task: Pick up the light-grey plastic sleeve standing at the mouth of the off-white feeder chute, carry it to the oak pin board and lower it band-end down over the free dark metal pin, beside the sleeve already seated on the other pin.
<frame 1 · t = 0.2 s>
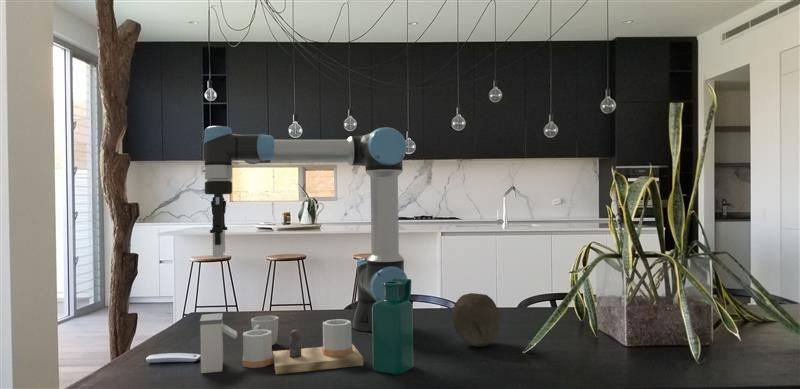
hand: (219, 254, 157), 28 cm above the table, fingers open, 13 cm apart
green square bottle: (394, 369, 138), on the table
cup: (263, 347, 161), on the table
feeder: (221, 366, 142), on the table
sleeve seated: (337, 352, 146), point 2 cm above the table, touching pin board
sleeve: (257, 363, 144), on the table
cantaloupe: (476, 346, 158), on the table
pin board: (316, 361, 145), on the table
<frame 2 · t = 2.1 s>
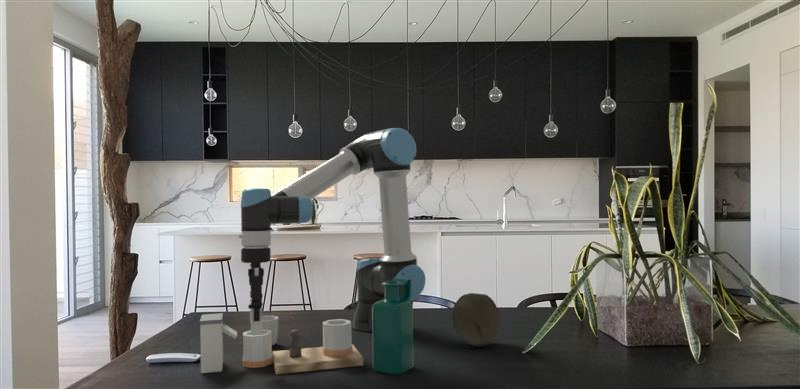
hand: (255, 328, 144), 9 cm above the table, fingers open, 13 cm apart
nothing on the table moved.
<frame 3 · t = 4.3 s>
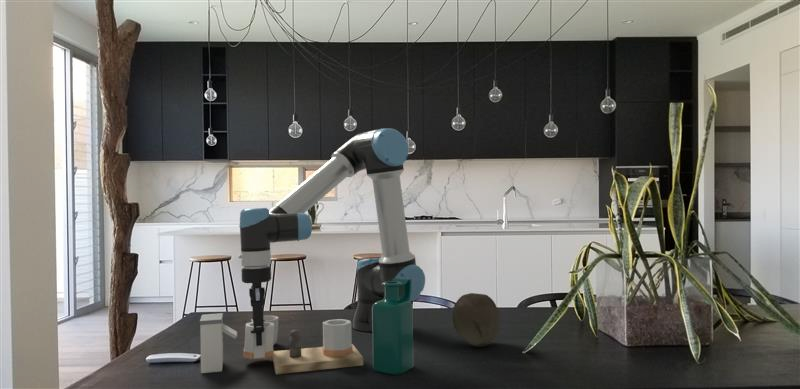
hand: (259, 353, 145), 3 cm above the table, fingers closed on sleeve, 8 cm apart
sleeve: (258, 354, 145), point 2 cm above the table, touching gripper
everything else where it was.
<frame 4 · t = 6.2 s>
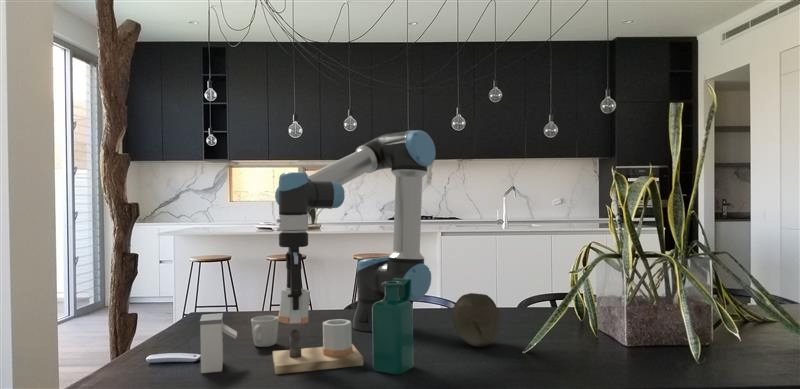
hand: (293, 319, 143), 12 cm above the table, fingers closed on sleeve, 8 cm apart
sleeve: (292, 321, 143), point 11 cm above the table, tilted 6°, touching gripper
everything else where it was.
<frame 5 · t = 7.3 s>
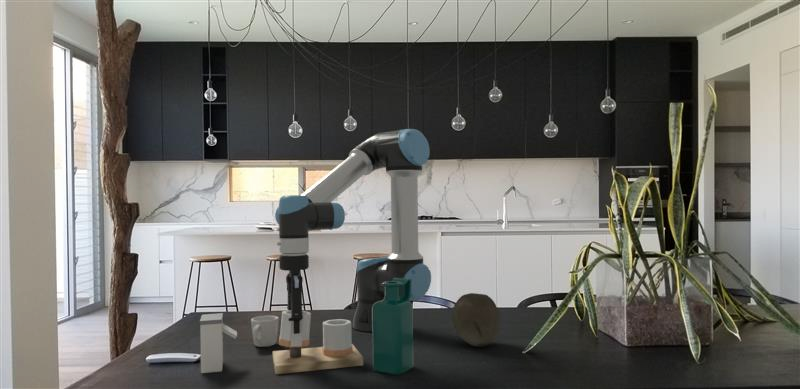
hand: (294, 341, 143), 6 cm above the table, fingers closed on sleeve, 8 cm apart
sleeve: (293, 343, 143), point 5 cm above the table, tilted 6°, touching gripper
everything else where it was.
when the fingers open (3 cm above the table, at t = 8.2 s): sleeve stays where it is, resting on pin board.
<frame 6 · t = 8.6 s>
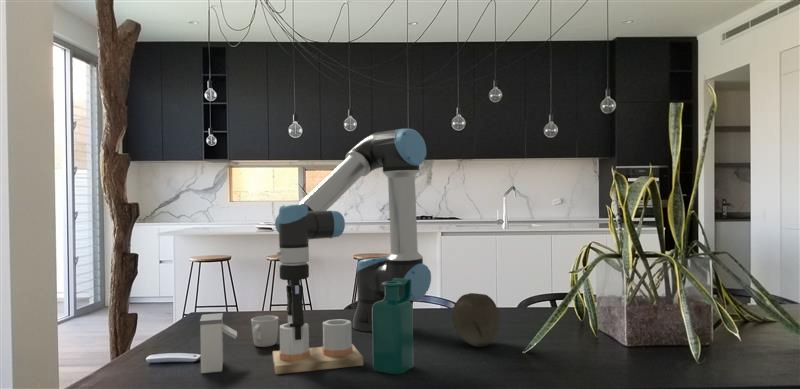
hand: (295, 345, 143), 5 cm above the table, fingers open, 13 cm apart
sleeve: (294, 356, 143), point 2 cm above the table, touching pin board
everything else where it was.
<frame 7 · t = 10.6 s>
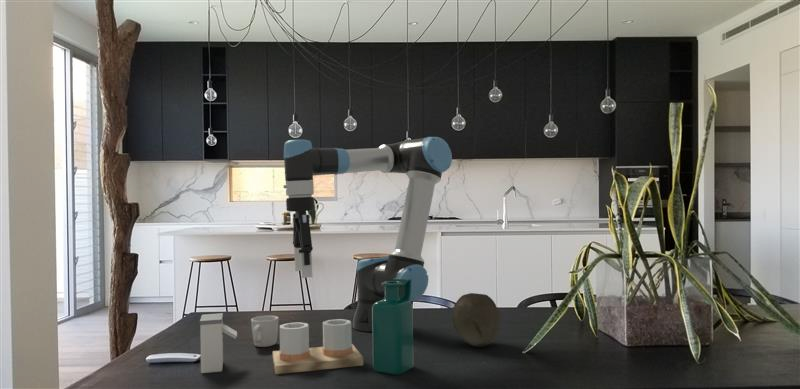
hand: (303, 273, 151), 22 cm above the table, fingers open, 13 cm apart
nothing on the table moved.
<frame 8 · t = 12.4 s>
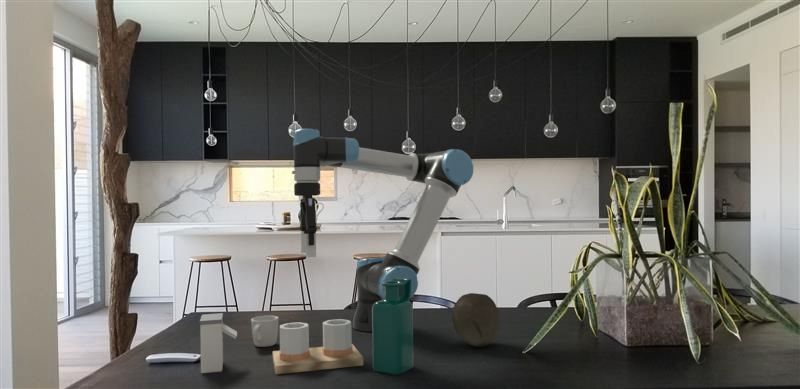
hand: (308, 255, 160), 27 cm above the table, fingers open, 13 cm apart
nothing on the table moved.
at the end: sleeve 0.3 cm from the target spot on the pin board, point 2.0 cm above the pin board's base; sleeve tilted 0°; the gripper is holding nothing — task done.
